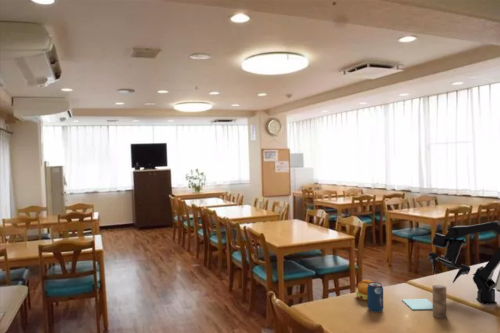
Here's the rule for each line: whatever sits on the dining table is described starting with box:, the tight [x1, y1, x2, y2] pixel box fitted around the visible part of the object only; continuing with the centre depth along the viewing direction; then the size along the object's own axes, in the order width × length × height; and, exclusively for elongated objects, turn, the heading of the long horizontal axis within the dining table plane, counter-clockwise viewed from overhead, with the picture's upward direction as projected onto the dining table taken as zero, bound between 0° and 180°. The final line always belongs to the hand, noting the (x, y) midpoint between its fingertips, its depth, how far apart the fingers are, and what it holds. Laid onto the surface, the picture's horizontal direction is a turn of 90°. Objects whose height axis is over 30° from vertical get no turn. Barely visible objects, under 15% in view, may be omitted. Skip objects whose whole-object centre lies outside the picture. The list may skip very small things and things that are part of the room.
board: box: [401, 298, 433, 311], centre depth 186 cm, size 12×12×1 cm
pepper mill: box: [432, 284, 448, 320], centre depth 173 cm, size 6×6×13 cm
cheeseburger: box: [355, 279, 373, 302], centre depth 195 cm, size 10×11×10 cm
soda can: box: [367, 281, 384, 313], centre depth 181 cm, size 7×7×12 cm
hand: (443, 278), depth 193 cm, fingers open, 9 cm apart
